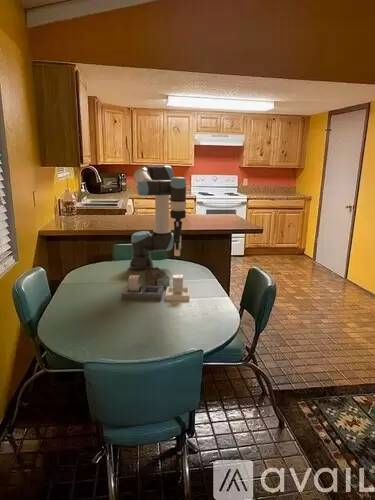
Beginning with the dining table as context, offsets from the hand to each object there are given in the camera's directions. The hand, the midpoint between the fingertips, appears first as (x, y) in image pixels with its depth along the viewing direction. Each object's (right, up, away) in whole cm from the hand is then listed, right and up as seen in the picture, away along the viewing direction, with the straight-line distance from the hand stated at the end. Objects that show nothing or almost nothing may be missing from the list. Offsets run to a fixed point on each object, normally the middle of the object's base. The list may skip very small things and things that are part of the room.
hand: (177, 251), depth 170 cm
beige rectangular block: (-23, -22, +6) cm, 33 cm away
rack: (-18, -22, +6) cm, 30 cm away
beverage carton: (-13, -18, +25) cm, 33 cm away
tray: (0, -23, +6) cm, 24 cm away
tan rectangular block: (0, -22, +6) cm, 23 cm away
